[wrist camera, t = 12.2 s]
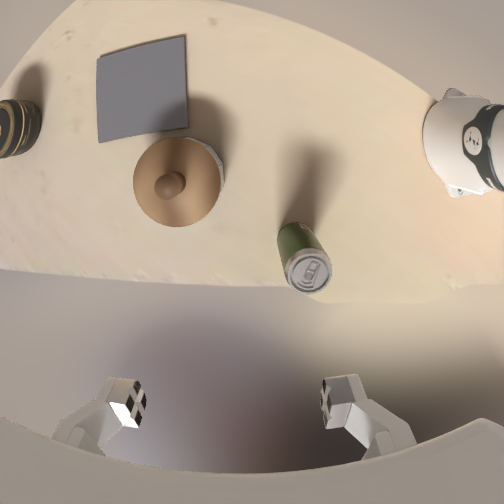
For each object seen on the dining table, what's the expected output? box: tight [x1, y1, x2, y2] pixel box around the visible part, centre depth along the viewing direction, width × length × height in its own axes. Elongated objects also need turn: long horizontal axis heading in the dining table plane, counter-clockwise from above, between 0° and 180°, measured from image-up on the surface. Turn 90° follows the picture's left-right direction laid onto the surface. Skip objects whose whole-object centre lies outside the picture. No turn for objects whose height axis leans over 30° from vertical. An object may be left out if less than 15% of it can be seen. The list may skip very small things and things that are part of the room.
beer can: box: [277, 222, 332, 294], centre depth 36 cm, size 5×5×12 cm
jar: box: [0, 99, 41, 159], centre depth 30 cm, size 10×10×8 cm
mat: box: [96, 37, 189, 143], centre depth 33 cm, size 14×14×1 cm
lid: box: [133, 137, 221, 227], centre depth 31 cm, size 11×11×5 cm
